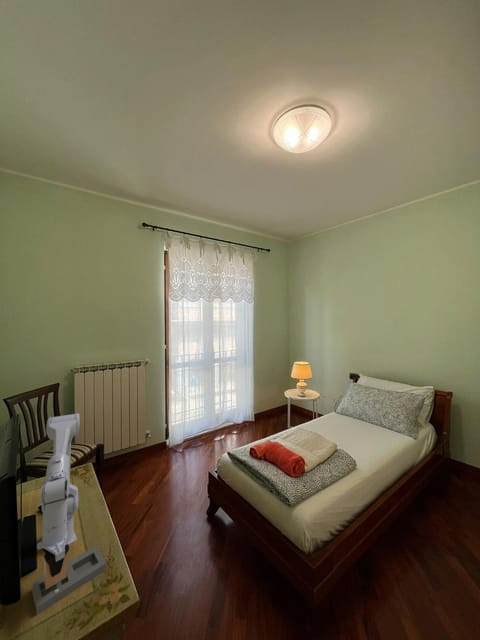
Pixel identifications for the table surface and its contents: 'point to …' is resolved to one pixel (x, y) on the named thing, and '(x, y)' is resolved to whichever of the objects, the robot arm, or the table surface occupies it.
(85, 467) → the table surface
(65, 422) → the robot arm
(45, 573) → the tan rectangular block
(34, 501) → the table surface
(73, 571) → the grey slotted tray
